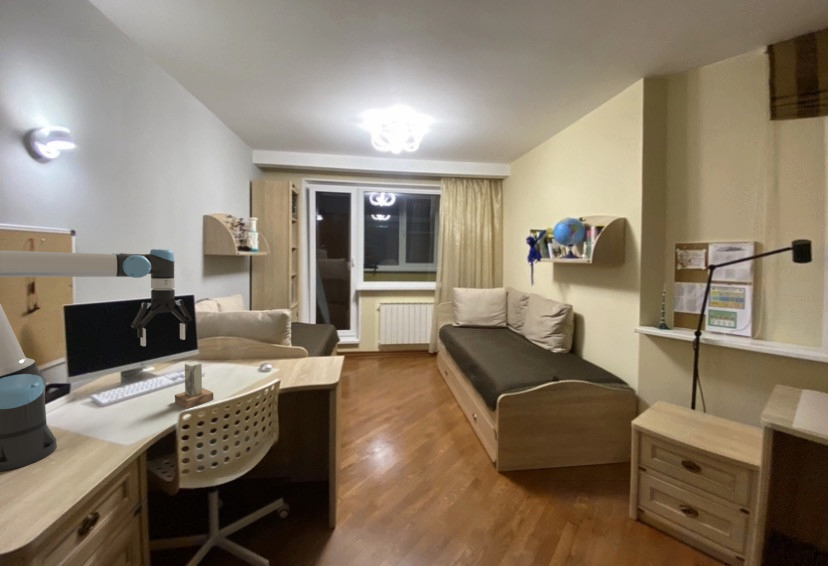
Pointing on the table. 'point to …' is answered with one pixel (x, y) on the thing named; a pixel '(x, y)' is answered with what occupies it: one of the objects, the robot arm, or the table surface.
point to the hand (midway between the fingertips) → (163, 342)
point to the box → (193, 378)
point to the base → (193, 398)
